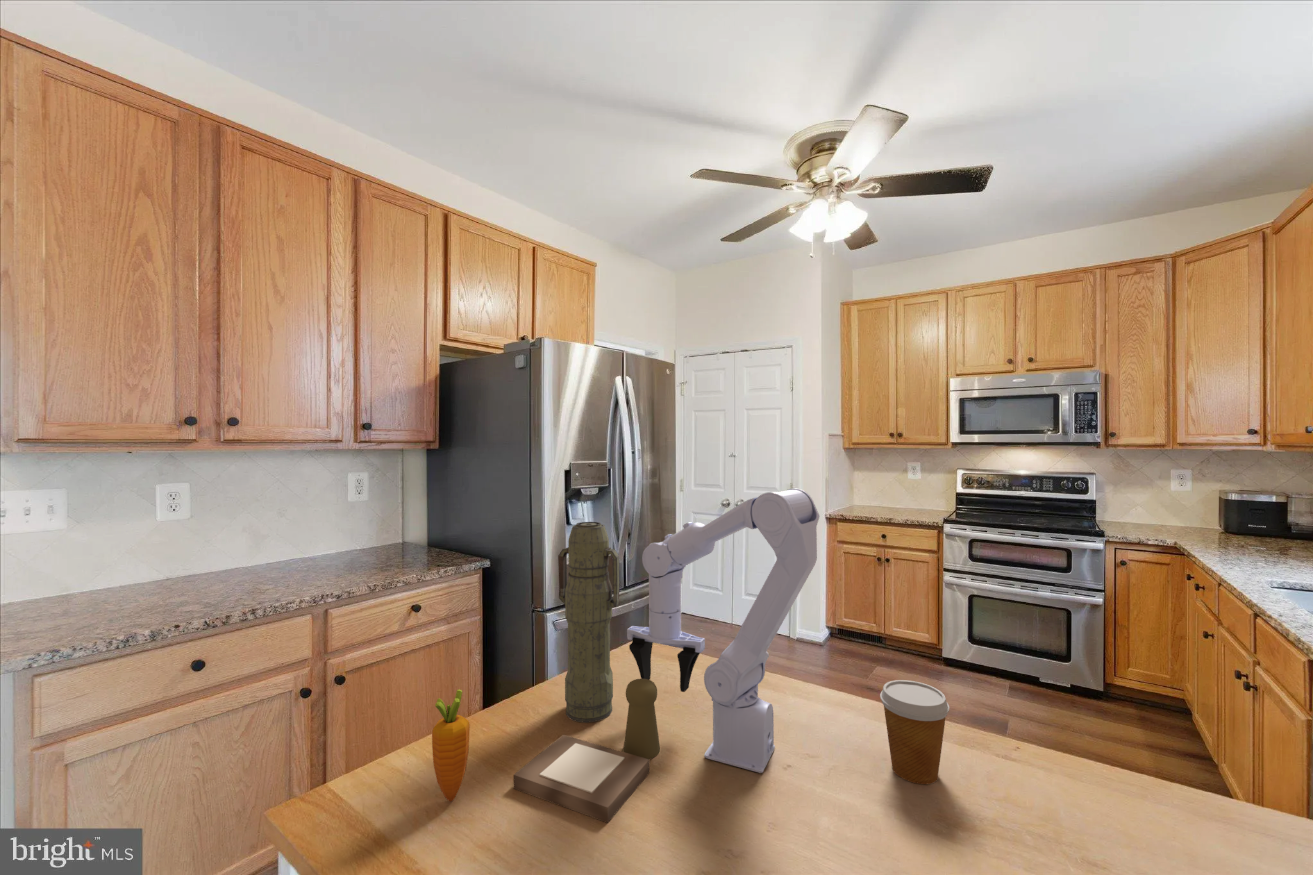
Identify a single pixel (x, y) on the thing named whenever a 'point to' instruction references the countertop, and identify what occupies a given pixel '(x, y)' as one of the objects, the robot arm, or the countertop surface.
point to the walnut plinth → (583, 777)
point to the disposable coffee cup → (914, 728)
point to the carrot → (450, 747)
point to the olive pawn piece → (641, 720)
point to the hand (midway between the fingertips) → (665, 685)
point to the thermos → (588, 620)
